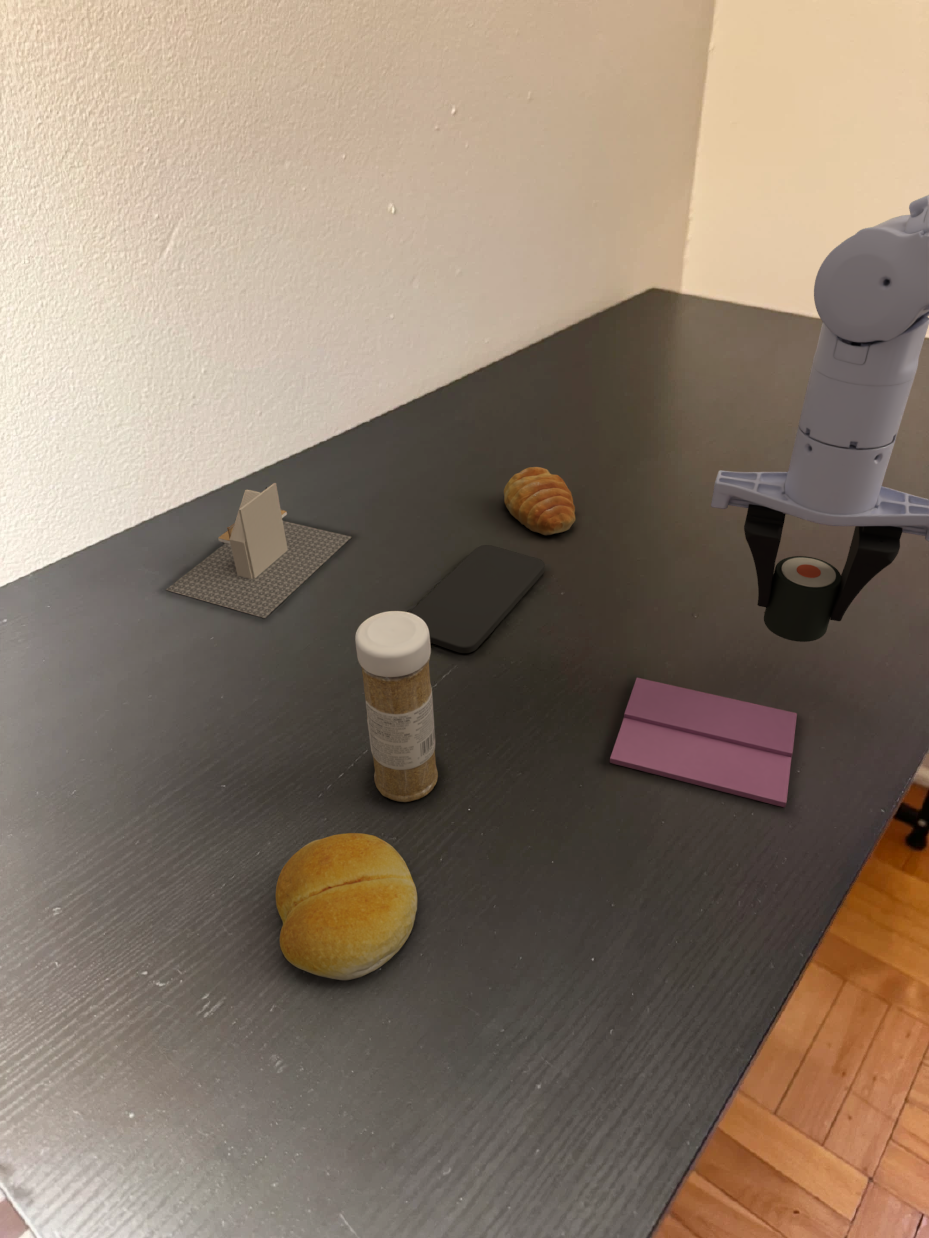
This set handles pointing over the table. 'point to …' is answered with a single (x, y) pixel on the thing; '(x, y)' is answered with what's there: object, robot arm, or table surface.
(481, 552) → the phone
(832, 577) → the sushi roll
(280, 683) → the table surface
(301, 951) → the bread roll
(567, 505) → the pastry
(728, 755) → the napkin
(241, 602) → the architectural model
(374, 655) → the spice jar
